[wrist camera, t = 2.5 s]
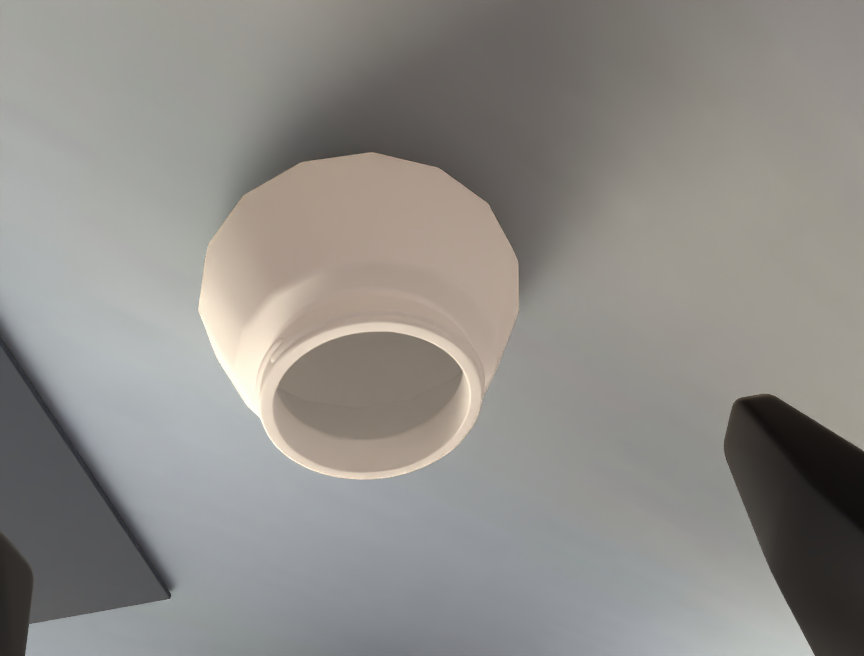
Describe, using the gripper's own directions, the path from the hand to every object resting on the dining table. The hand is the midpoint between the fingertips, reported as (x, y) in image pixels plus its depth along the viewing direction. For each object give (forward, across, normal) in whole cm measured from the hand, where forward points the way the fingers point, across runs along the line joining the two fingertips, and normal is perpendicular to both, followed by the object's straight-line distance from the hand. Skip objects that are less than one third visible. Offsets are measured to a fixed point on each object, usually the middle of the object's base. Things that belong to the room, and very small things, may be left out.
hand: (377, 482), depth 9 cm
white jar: (+4, 0, 0) cm, 4 cm away
